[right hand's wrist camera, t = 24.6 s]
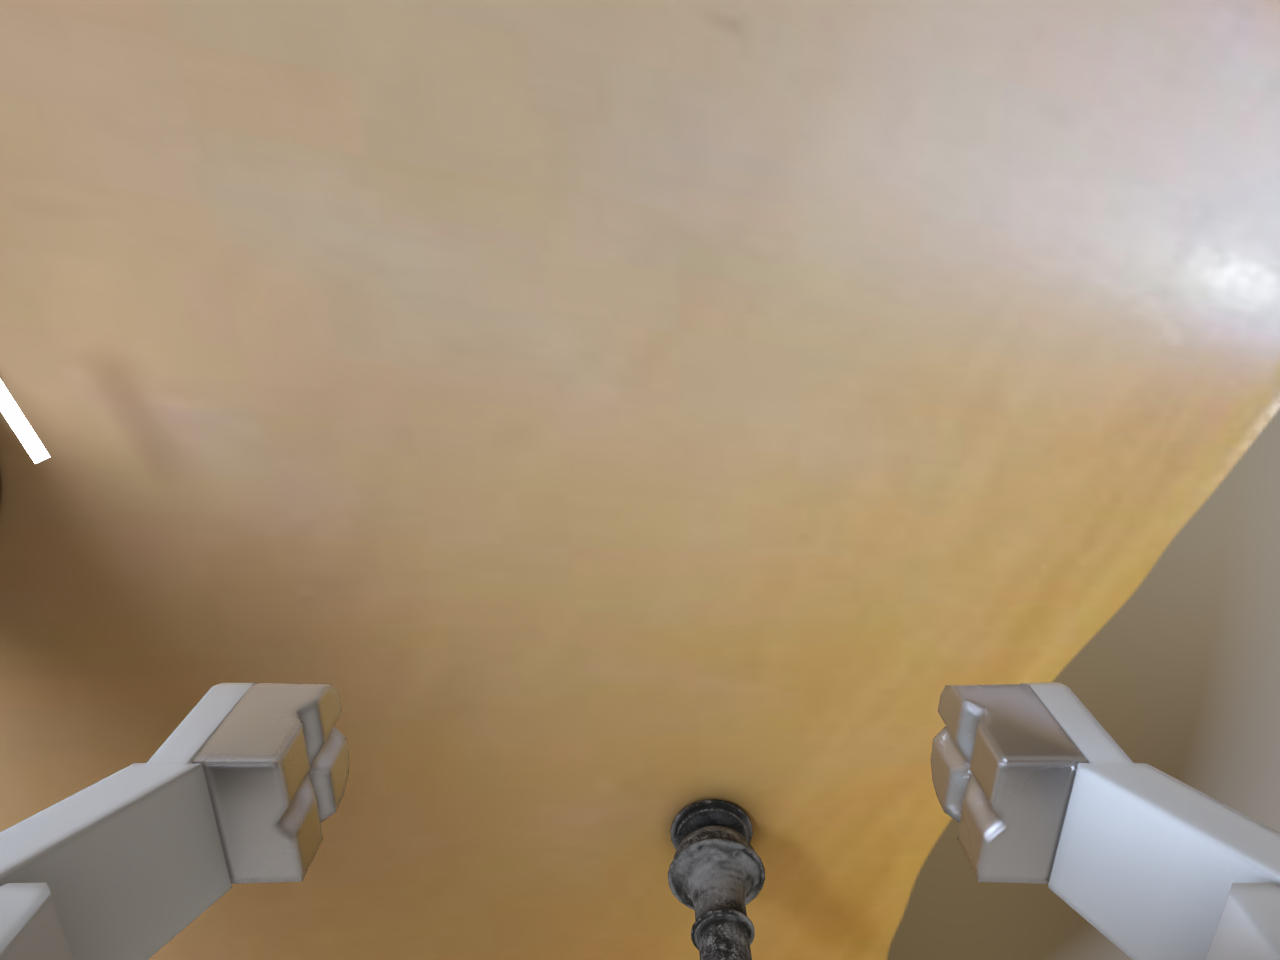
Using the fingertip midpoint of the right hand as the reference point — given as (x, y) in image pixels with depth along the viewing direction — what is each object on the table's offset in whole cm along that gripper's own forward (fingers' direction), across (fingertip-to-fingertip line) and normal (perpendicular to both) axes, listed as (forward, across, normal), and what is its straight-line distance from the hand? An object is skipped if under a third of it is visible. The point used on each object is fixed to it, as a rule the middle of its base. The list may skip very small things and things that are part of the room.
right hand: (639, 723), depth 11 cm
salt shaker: (+31, +5, -32) cm, 45 cm away
